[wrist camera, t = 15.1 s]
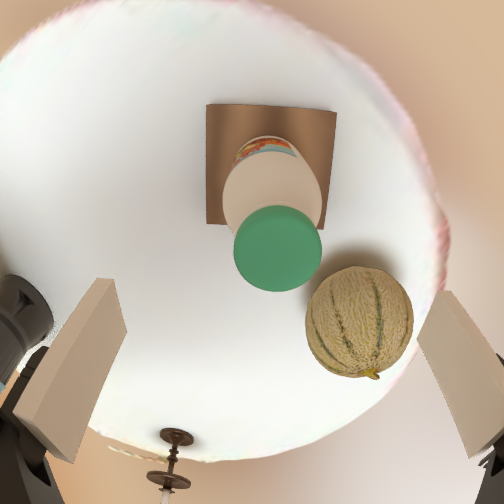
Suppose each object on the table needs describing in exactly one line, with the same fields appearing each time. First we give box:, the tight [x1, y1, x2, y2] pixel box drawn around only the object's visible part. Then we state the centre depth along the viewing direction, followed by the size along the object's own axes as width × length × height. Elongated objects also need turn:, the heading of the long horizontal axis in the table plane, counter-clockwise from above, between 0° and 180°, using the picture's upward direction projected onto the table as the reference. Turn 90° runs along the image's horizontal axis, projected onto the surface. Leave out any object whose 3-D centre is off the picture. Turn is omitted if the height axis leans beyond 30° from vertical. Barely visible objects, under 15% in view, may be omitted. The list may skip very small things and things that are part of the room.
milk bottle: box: [223, 136, 322, 292], centre depth 24 cm, size 8×8×20 cm
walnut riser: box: [206, 104, 337, 230], centre depth 34 cm, size 14×14×3 cm
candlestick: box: [147, 428, 194, 504], centre depth 53 cm, size 11×11×35 cm
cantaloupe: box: [305, 266, 414, 380], centre depth 38 cm, size 15×15×15 cm
